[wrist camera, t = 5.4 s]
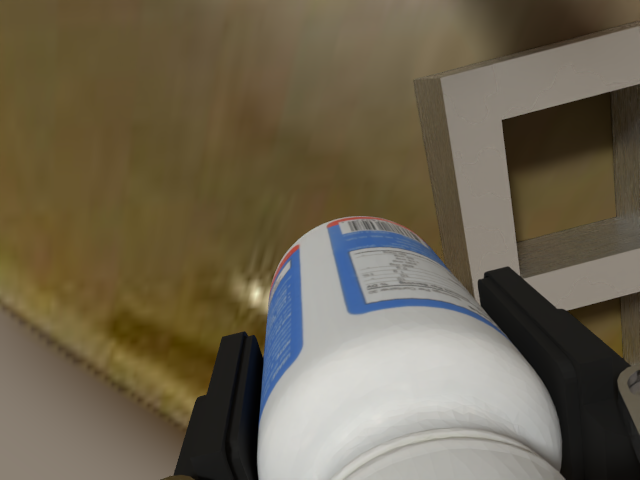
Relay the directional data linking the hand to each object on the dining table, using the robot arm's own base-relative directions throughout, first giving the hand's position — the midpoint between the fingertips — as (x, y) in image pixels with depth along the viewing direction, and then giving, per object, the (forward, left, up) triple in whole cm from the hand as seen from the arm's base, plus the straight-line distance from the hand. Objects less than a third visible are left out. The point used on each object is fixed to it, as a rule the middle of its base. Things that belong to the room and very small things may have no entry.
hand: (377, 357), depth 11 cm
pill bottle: (0, 0, -4) cm, 4 cm away
